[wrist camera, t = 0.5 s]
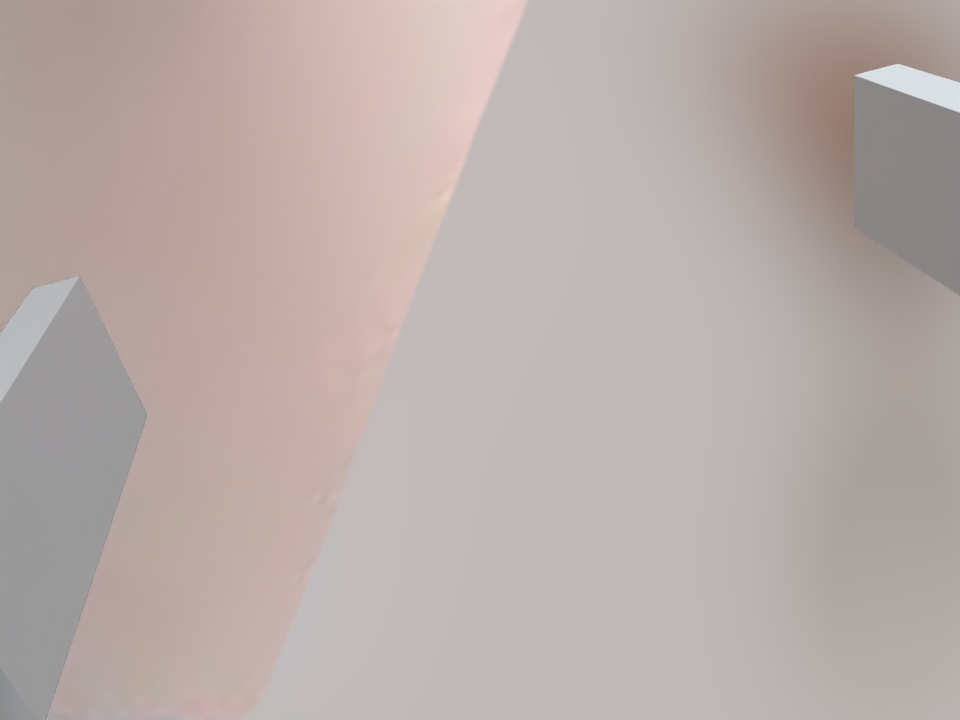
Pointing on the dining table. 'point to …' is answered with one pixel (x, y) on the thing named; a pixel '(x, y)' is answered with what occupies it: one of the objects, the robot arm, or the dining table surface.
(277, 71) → the dining table surface
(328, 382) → the dining table surface
